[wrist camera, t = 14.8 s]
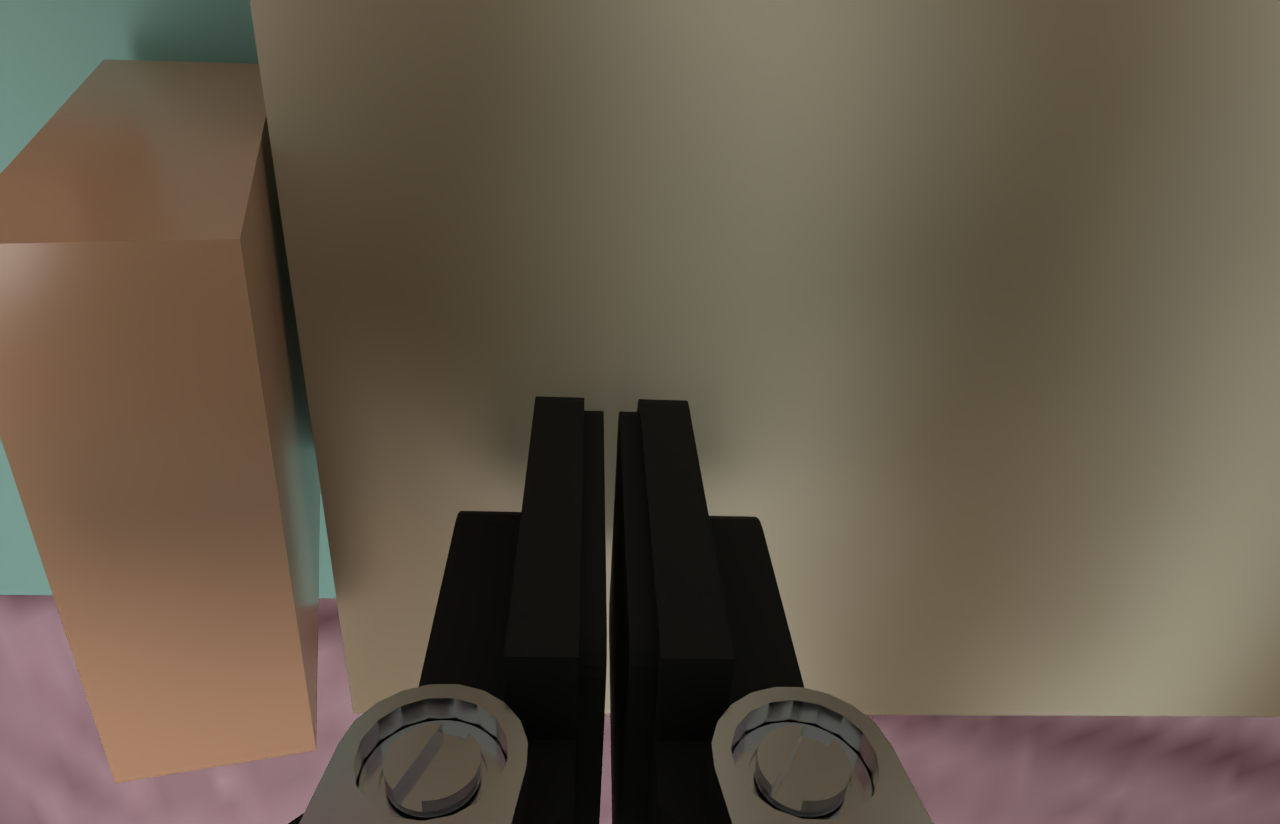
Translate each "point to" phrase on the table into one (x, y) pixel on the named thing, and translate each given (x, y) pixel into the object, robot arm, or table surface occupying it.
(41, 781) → the table surface
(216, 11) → the rubber mat
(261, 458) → the tile
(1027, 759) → the table surface
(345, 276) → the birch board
